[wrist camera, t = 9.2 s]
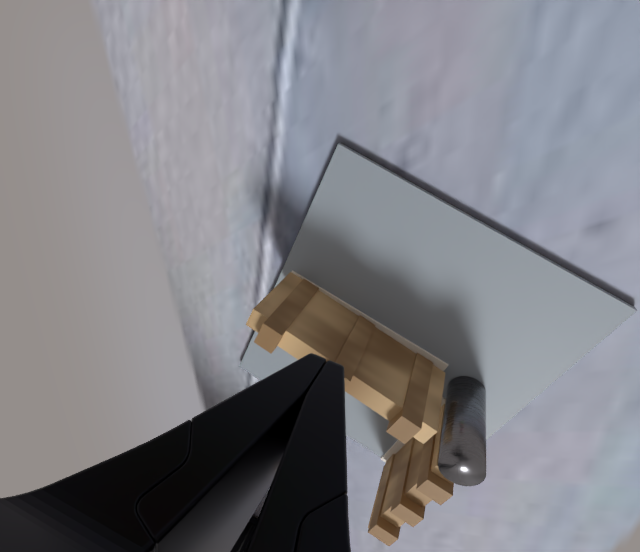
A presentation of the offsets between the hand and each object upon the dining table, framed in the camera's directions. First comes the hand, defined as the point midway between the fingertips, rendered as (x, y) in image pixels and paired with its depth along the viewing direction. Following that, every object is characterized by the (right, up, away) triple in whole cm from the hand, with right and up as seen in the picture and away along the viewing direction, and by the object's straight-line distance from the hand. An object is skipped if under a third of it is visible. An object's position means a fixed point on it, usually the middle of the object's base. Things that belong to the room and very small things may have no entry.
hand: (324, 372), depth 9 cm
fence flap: (+2, 0, +11) cm, 11 cm away
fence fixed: (+6, -7, +13) cm, 16 cm away
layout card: (+4, -1, +11) cm, 12 cm away
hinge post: (+7, -3, +11) cm, 13 cm away
